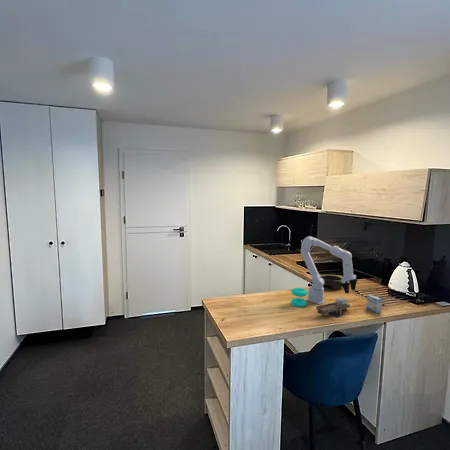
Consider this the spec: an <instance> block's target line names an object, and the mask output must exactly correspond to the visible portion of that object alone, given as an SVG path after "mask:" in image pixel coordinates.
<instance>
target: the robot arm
mask: <svg viewBox="0 0 450 450" xmlns="http://www.w3.org/2000/svg"><path fill="white" fill-rule="evenodd" d="M311 247H320V248H322V249H324V250H326V251H329V253H330V254H331V255H333V256H335V257H337V258H338V259H341V260H342V269H343V270H342V271H343V272H342V273H343V276H344V278H343V279H342V280H341V285H342V286H343V287H342V288H343V290H344V291H343V292H344V293H345V294H350V289H351V291H356V285H357V283H358V278H357V275H356V274H354V268H353V260H352V259H353V258H352V257H353V255H352V253H351V252H350V251H348V250H346V249H342V248H340V246H338V245H332V246H331V245H330V244H328V243H326V242H324V241H323V240H320V239H319V238H316V237H313V236H311V235H308V236H306V237H304V239H303V240H302V241H301V248H300V253H301V256H302V258H303V261H304V263H305V265H306V267H307V269H308V272H309V275H310V276H311V281H312V286H310V287H309V288H308V291H307V295H308V296H307V300H306V301H308V302H311V303H314V304H317V305H323V304H325V303H327V301H326V300H324V296H325V295H324V293H325V288H324V286H325V285H324V279H323V278H321V276H320V275H321V274H320V272H318V269H317V267H316V265H315V262H314V260H313V258H312V255H311V253H310V249H311Z"/></svg>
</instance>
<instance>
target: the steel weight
mask: <svg viewBox="0 0 450 450" xmlns="http://www.w3.org/2000/svg"><path fill="white" fill-rule="evenodd" d="M334 302H335V305H337V306H344V305H348V304H349V298H344V297H337V298H335V301H334Z"/></svg>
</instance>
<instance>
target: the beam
mask: <svg viewBox="0 0 450 450" xmlns="http://www.w3.org/2000/svg"><path fill="white" fill-rule="evenodd" d="M335 302H336V301H334V302H329V303H328V302H327V303H326V304H325V303H323V304H318V305H316V307H315V309H316V310H317V312H316V313H317V314H320V315H322V316H325V317H327V316H330V315H329V312H333V311H337V310H339V309H340V308H341V309H346V308H347V309H349V308H350V307H351V304H349V303H348V305H344V306H337V305H335ZM347 309H346V310H347Z"/></svg>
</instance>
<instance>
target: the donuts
mask: <svg viewBox="0 0 450 450" xmlns="http://www.w3.org/2000/svg"><path fill="white" fill-rule="evenodd" d="M291 294H292V295H293V296H295V297H294V298H292V299H291V300H290V303H291V305H292V306H294V307H297V308H304V307H307V304H308V303H307V300H306V299H304V298H302V297H305V296H307V295H308V291H307V289H305V288H302V287H301V288H300V287H295V288H292V289H291Z"/></svg>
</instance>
